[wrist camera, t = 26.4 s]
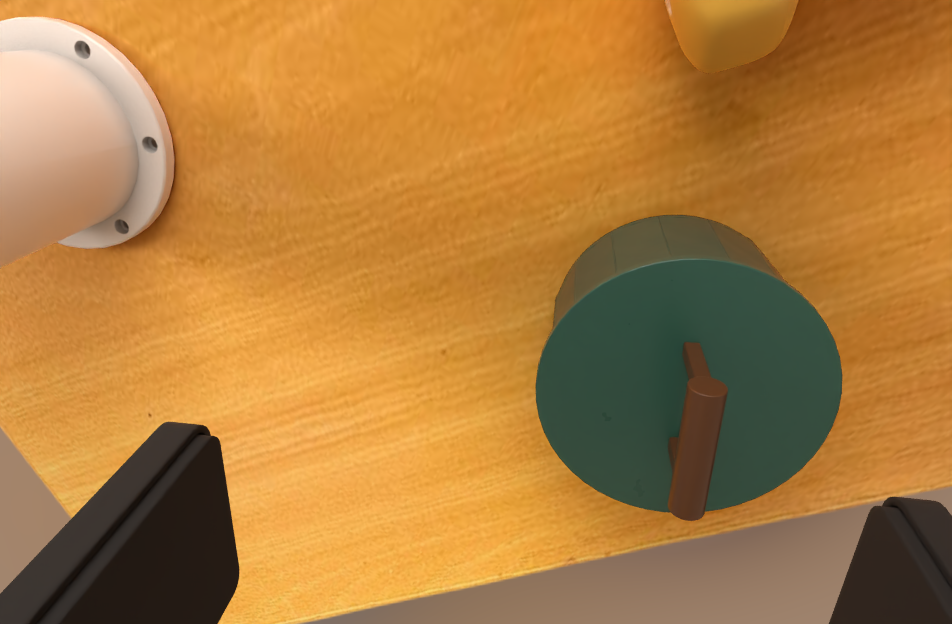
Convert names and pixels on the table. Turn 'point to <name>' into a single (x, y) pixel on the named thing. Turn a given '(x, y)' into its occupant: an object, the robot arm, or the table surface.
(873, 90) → the table surface
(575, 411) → the lid
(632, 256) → the pot
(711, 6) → the dumbbell
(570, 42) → the table surface
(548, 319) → the table surface
